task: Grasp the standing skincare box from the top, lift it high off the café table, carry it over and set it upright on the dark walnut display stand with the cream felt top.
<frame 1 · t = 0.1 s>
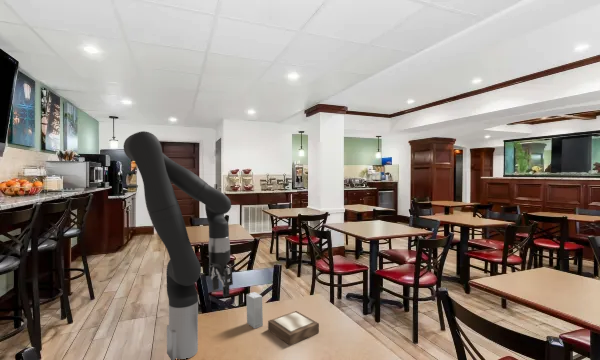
hand: (220, 292, 113), 17 cm above the table, tool pointing down, fingers open, 8 cm apart
skincare box: (254, 325, 124), on the table
walnut stand: (293, 331, 119), on the table
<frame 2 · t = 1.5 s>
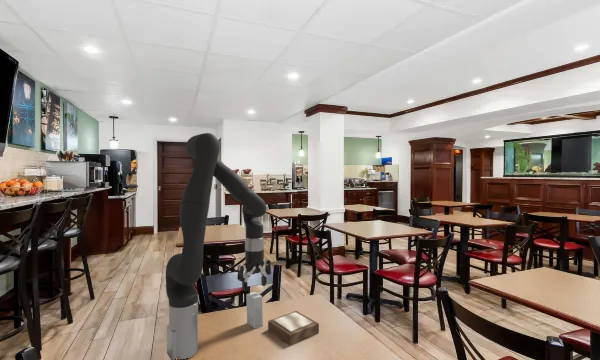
hand: (254, 288, 124), 15 cm above the table, tool pointing down, fingers open, 8 cm apart
nothing on the table moved.
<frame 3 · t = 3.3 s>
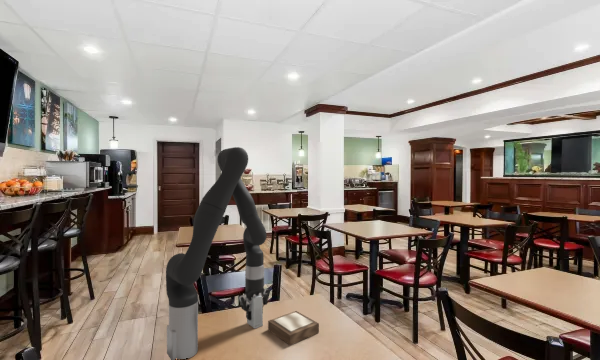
hand: (254, 317, 124), 3 cm above the table, tool pointing down, fingers closed on skincare box, 4 cm apart
skincare box: (254, 325, 124), on the table, touching gripper
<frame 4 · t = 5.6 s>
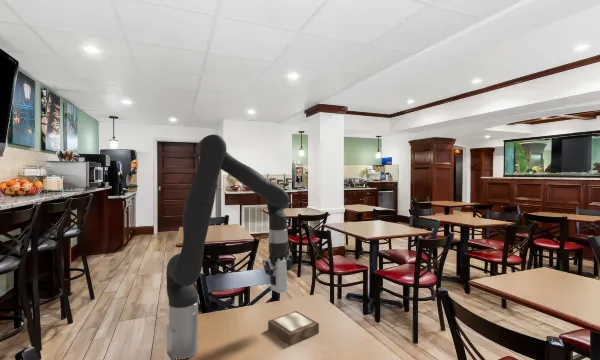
hand: (278, 283, 122), 18 cm above the table, tool pointing down, fingers closed on skincare box, 4 cm apart
skincare box: (278, 290, 122), point 15 cm above the table, touching gripper
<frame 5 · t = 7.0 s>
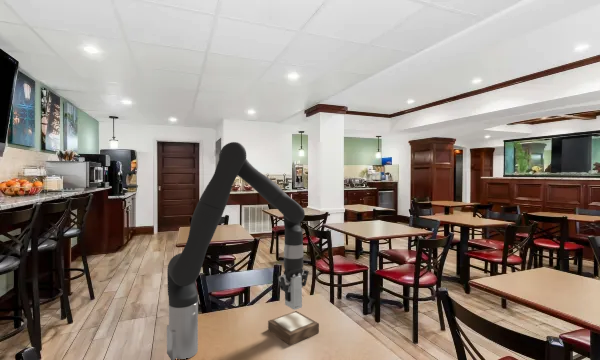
hand: (293, 299, 119), 13 cm above the table, tool pointing down, fingers closed on skincare box, 4 cm apart
skincare box: (293, 306, 119), point 10 cm above the table, touching gripper
when the fingers open (8 cm above the table, at t = 8.1 s): skincare box drops 1 cm, resting on walnut stand.
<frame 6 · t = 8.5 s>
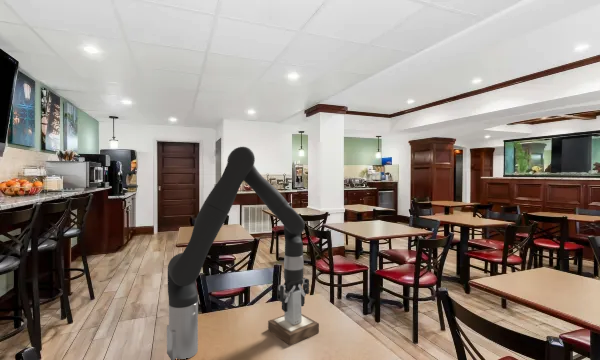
hand: (293, 308, 119), 9 cm above the table, tool pointing down, fingers open, 7 cm apart
skincare box: (292, 321, 119), point 4 cm above the table, touching walnut stand
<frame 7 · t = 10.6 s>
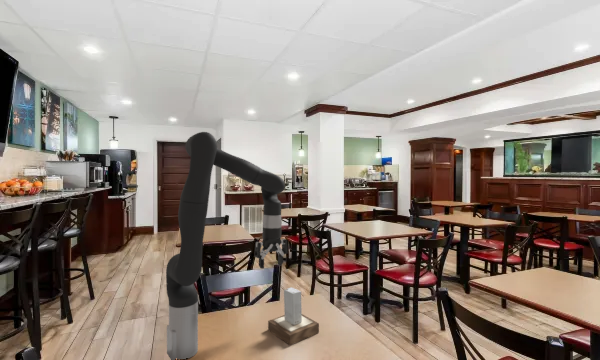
hand: (271, 266, 123), 24 cm above the table, tool pointing down, fingers open, 8 cm apart
nothing on the table moved.
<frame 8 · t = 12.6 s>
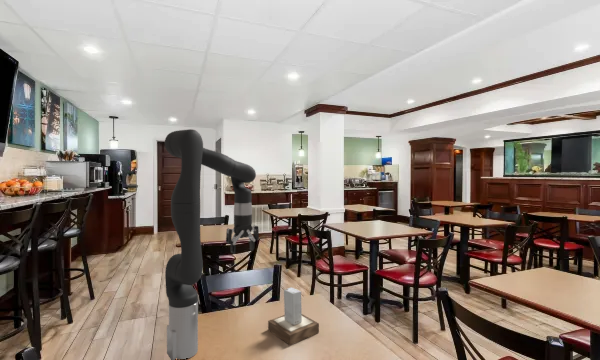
hand: (242, 251, 130), 28 cm above the table, tool pointing down, fingers open, 8 cm apart
nothing on the table moved.
at the end: skincare box inside the target area on the walnut stand (0.3 cm from its centre), point 3.8 cm above the walnut stand's base; skincare box tilted 0°; the gripper is holding nothing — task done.
